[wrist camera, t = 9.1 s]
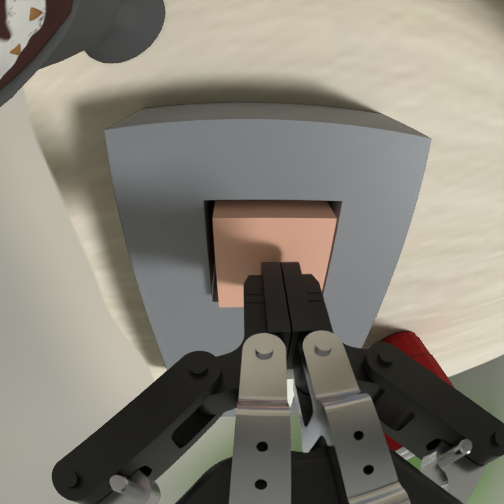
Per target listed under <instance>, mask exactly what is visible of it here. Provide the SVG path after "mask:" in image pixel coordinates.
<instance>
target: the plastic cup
mask: <svg viewBox="0 0 504 504" xmlns="http://www.w3.org/2000/svg"><path fill="white" fill-rule="evenodd" d="M380 342H386V343H390V344H392V345H394V346H396V347H397V348H398V349H400V350H401V351H403V352H404V353H406V354H407V355H408V356H410V357H411V358H413V359H414V360H415V361H417V362H418V363H420V364H421V365H423V366H424V367H425V368H427V369H428V370H430V371H431V372H432V373H434V374H435V375H437V376H438V377H439V378H441V379H442V380H444V381H445V382H446V383H448V384H449V385H451V386H452V387H453V385H452V383H451V382H450V381H449V379H448V377H447V376H446V374H445V373H444V371H443V370H442V369H441V367H440V366H439V364H438V363H437V361H436V360H435V358H434V357H433V356H432V355H431V354H430V353H429V352H428V350H427V349H426V347H425V346H424V344H423V343H422V341H421V340H420V338H419V337H417V336H416V334H415V333H412V332H409V331H408V332H399V333H396V334H394V335H391V336H389V337H387V338H385V339H384V340H382V341H380ZM453 388H454V387H453ZM383 433H384V432H383ZM384 436H385V439H386V442H387V445H388V448H390V449H392V450H394V451H395V452H396V453H398V454H399V455H400V456H402V457H403V458H404V459H405V460H406V459H409V458H411V457H414V456H415V455H414V454H413V453H411V452H410V451H409V450H407V449H406V448H404V447H403V446H402V445H400V444H399V443H398V442H396V441H395V440H394V439H392V438H391V437H390V436H388V435H387V434H386V433H384Z"/></svg>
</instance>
